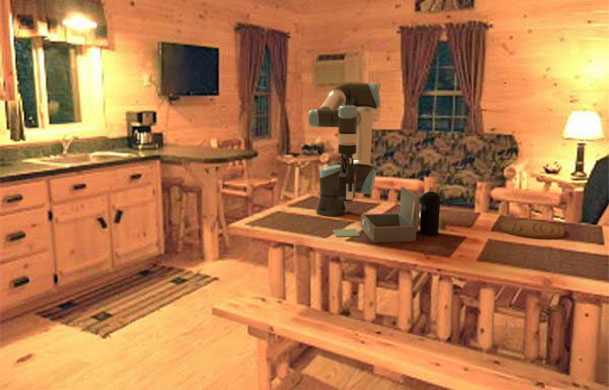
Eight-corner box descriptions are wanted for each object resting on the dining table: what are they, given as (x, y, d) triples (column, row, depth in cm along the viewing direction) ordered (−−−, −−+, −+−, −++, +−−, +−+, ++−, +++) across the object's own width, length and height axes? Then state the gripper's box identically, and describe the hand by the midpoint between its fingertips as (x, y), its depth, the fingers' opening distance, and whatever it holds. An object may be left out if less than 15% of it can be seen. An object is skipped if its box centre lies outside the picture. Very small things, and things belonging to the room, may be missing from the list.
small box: (352, 202, 208) (353, 176, 206) (336, 201, 210) (337, 176, 207) (355, 196, 218) (356, 172, 216) (340, 196, 220) (340, 172, 218)
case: (359, 227, 226) (360, 187, 222) (401, 226, 228) (402, 186, 224) (372, 242, 204) (373, 198, 201) (417, 240, 206) (419, 197, 203)
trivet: (501, 236, 213) (501, 232, 213) (500, 222, 236) (500, 218, 236) (567, 242, 205) (568, 238, 204) (560, 226, 228) (561, 222, 227)
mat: (332, 230, 221) (332, 229, 221) (355, 229, 223) (355, 228, 222) (336, 237, 212) (336, 236, 212) (360, 236, 213) (360, 235, 213)
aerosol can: (439, 231, 220) (442, 185, 216) (438, 236, 212) (440, 189, 208) (420, 229, 222) (422, 184, 218) (418, 234, 215) (420, 188, 211)
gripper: (333, 141, 220) (332, 190, 225) (343, 147, 197) (343, 202, 202) (350, 140, 221) (349, 190, 226) (362, 147, 198) (361, 202, 203)
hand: (346, 196), depth 214 cm, fingers closed on small box, 11 cm apart
